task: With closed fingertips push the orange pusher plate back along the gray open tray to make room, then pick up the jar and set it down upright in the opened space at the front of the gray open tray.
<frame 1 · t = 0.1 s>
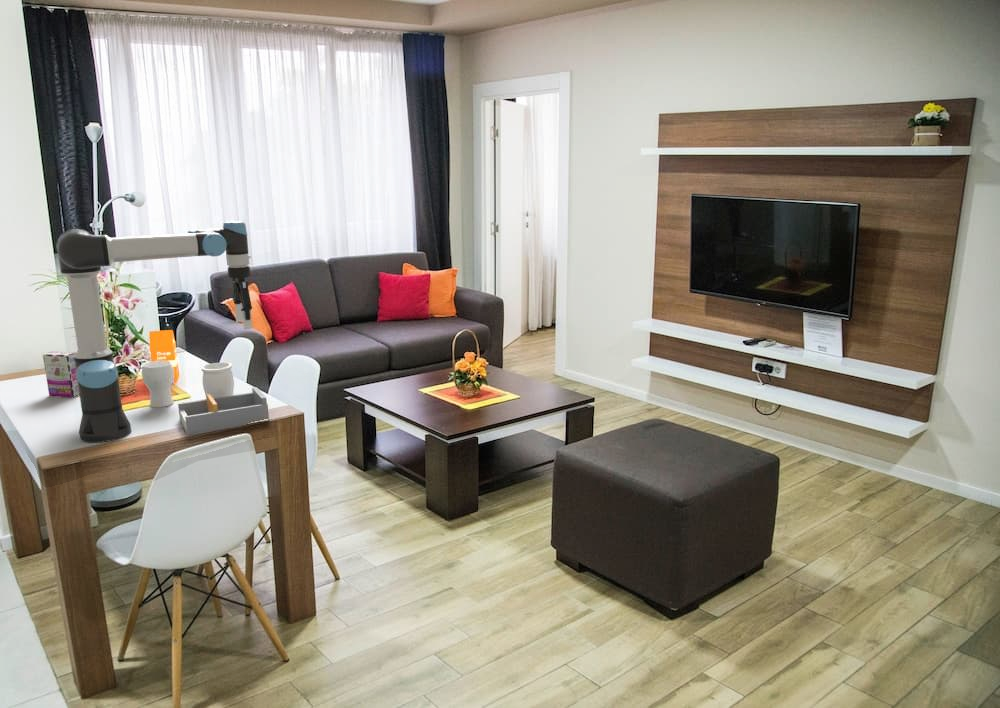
hand: (244, 325, 290), 28 cm above the table, fingers open, 13 cm apart
cup: (161, 404, 293), on the table
orange juice: (166, 379, 325), on the table
pusher: (217, 408, 272), point 5 cm above the table, slide at 0.0 cm
candy bar box: (66, 395, 306), on the table
gray open tray: (224, 420, 275), on the table
jar: (220, 407, 290), on the table
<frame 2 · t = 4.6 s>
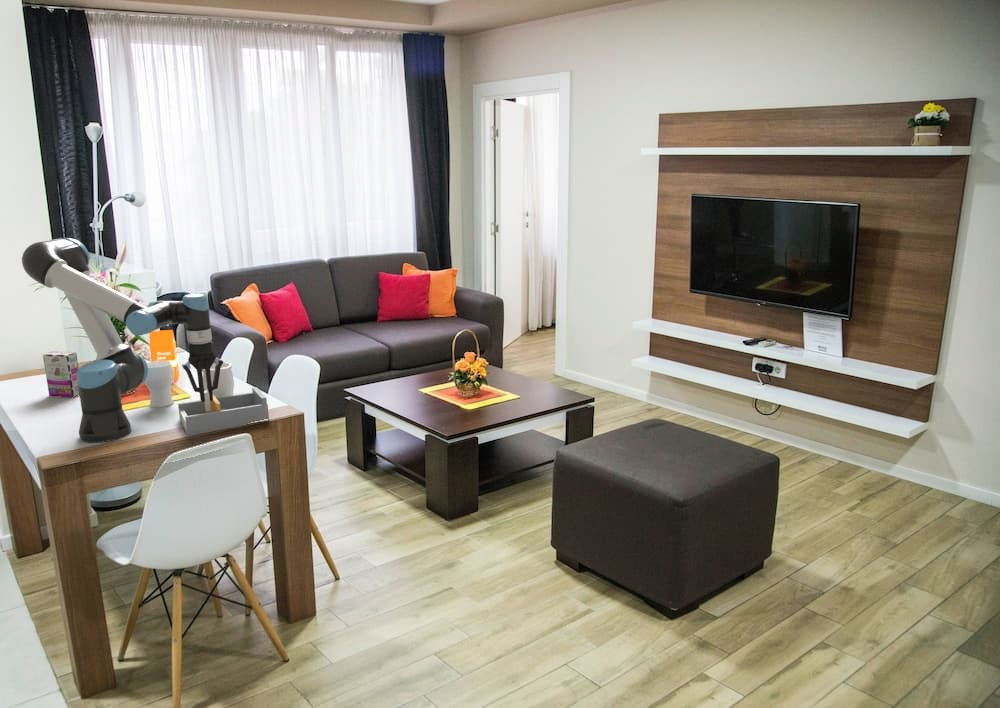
hand: (208, 410, 271), 5 cm above the table, fingers closed
pusher: (220, 407, 273), point 5 cm above the table, slide at 1.0 cm, touching gripper
everything else where it was.
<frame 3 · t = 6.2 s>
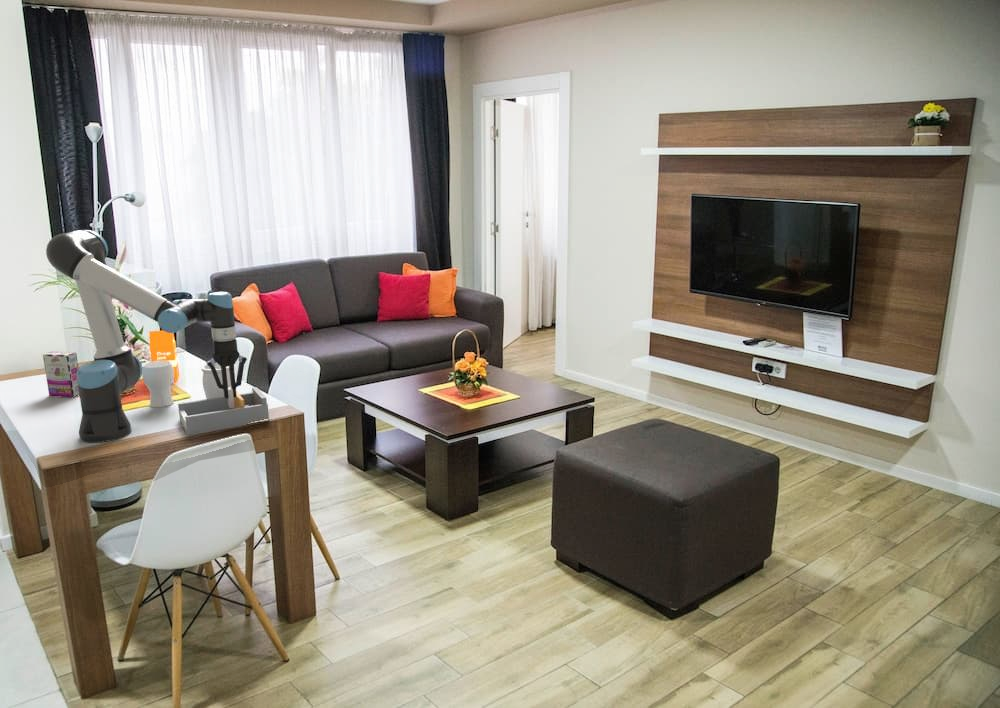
hand: (231, 406, 275), 5 cm above the table, fingers closed
pusher: (243, 404, 276), point 5 cm above the table, slide at 8.6 cm, touching gripper
everything else where it was.
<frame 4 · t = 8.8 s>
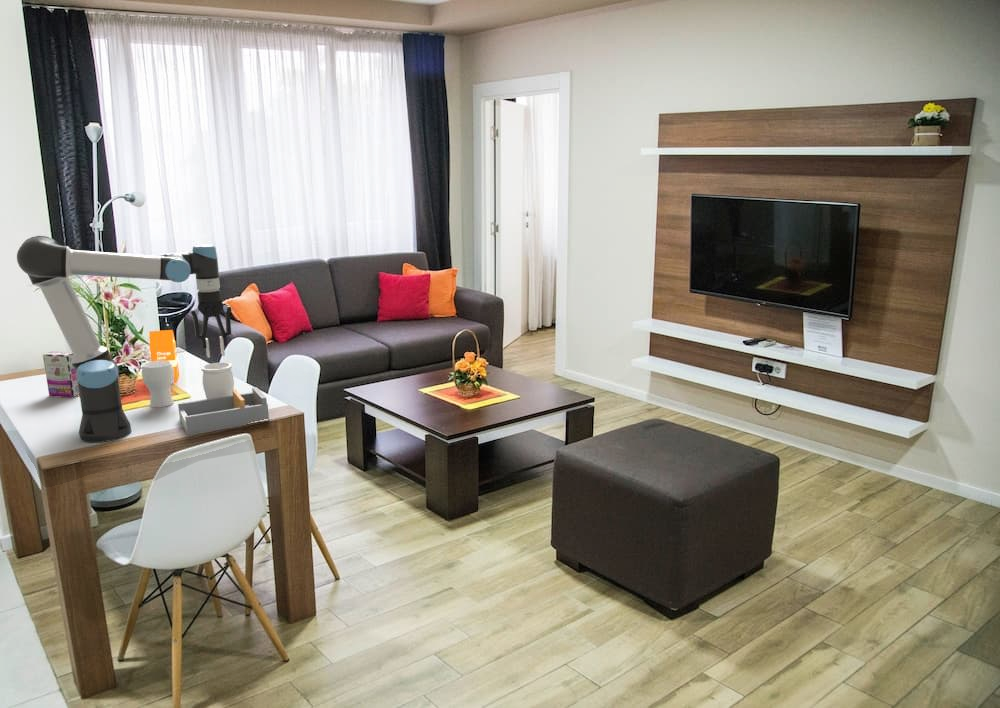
hand: (215, 355, 285), 19 cm above the table, fingers open, 4 cm apart
pusher: (243, 404, 277), point 5 cm above the table, slide at 8.7 cm
everything else where it was.
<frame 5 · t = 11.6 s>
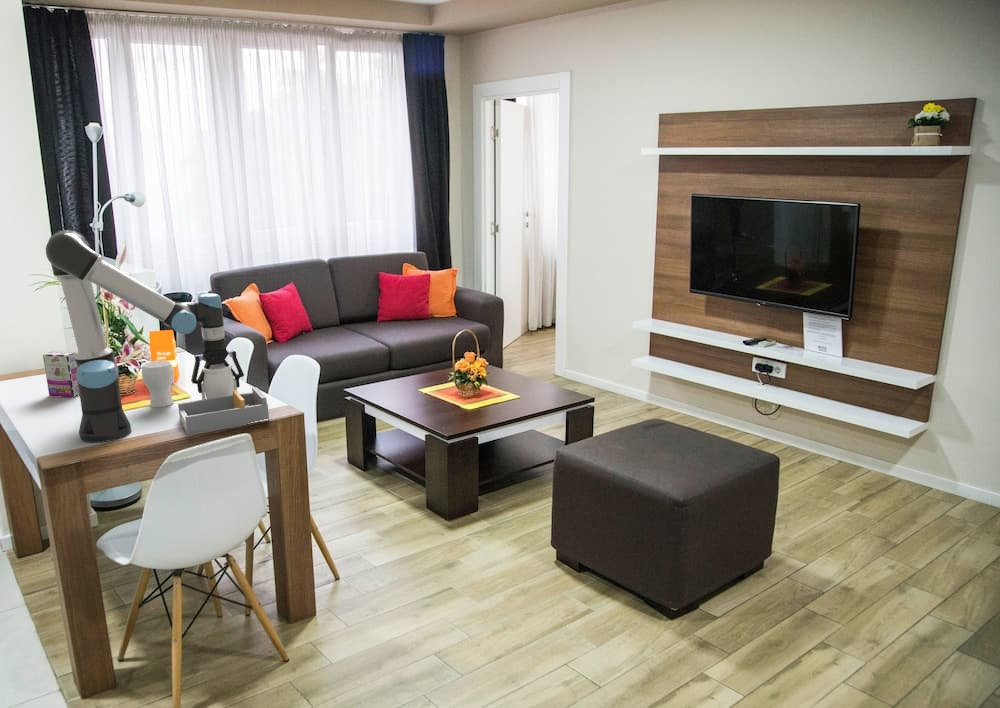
hand: (220, 398, 289), 3 cm above the table, fingers closed on jar, 10 cm apart
jar: (221, 407, 290), on the table, touching gripper
everything else where it was.
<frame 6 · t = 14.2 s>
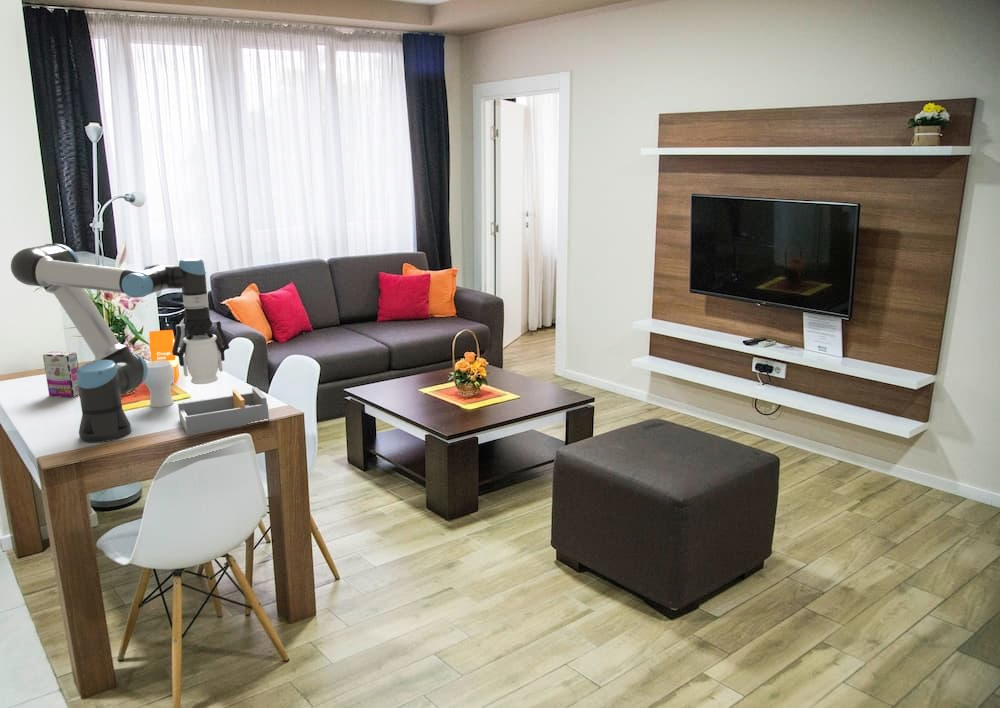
hand: (203, 372, 268), 18 cm above the table, fingers closed on jar, 10 cm apart
jar: (204, 381, 269), point 14 cm above the table, touching gripper
everything else where it was.
when the fingers open (6 cm above the table, at t = 16.9 s): jar drops 2 cm, resting on gray open tray.
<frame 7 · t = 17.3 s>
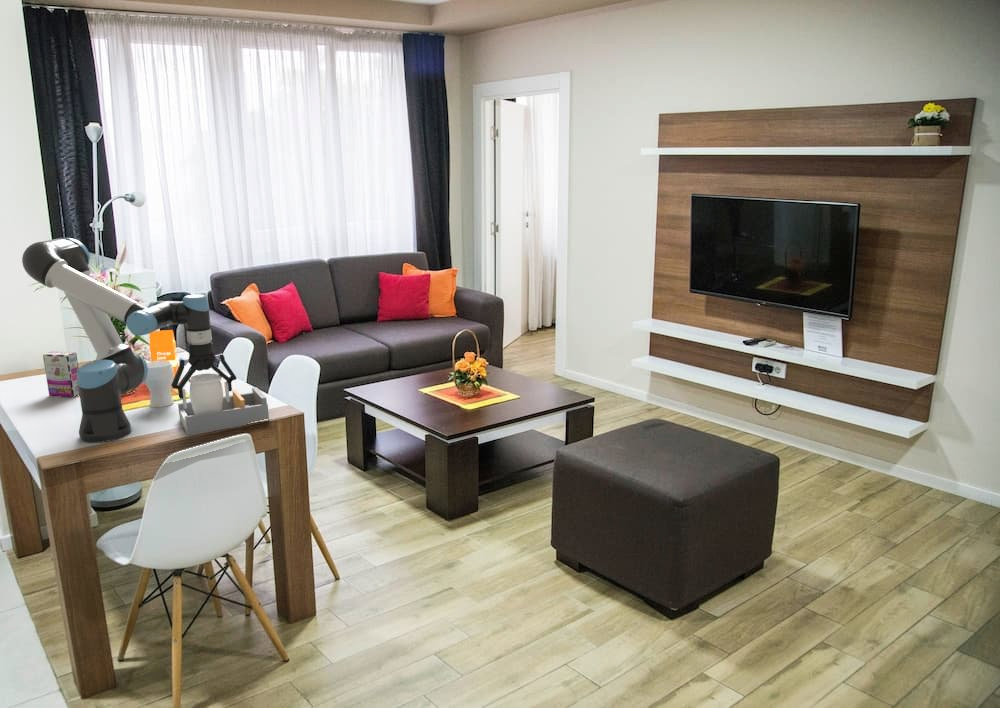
hand: (206, 404, 271), 7 cm above the table, fingers open, 13 cm apart
jar: (208, 420, 272), point 1 cm above the table, touching gray open tray
everything else where it was.
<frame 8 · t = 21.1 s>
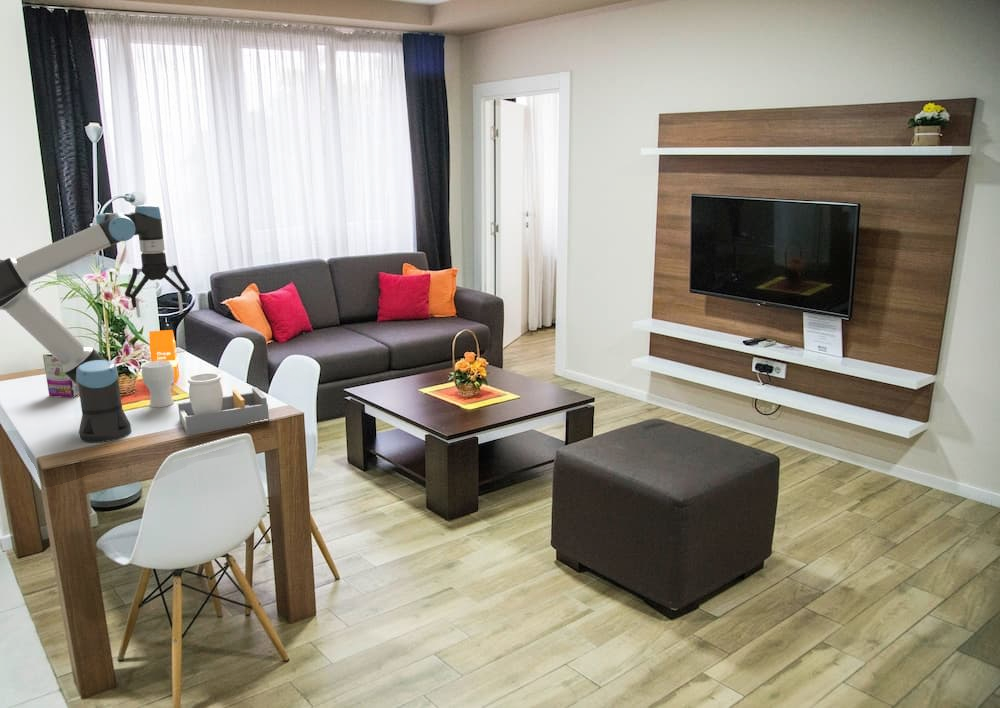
hand: (160, 314, 276), 35 cm above the table, fingers open, 13 cm apart
nothing on the table moved.
at the end: jar inside the target area (2.0 cm from its centre), point 0.8 cm above the table; jar tilted 0°; pusher slide at 8.7 cm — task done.
